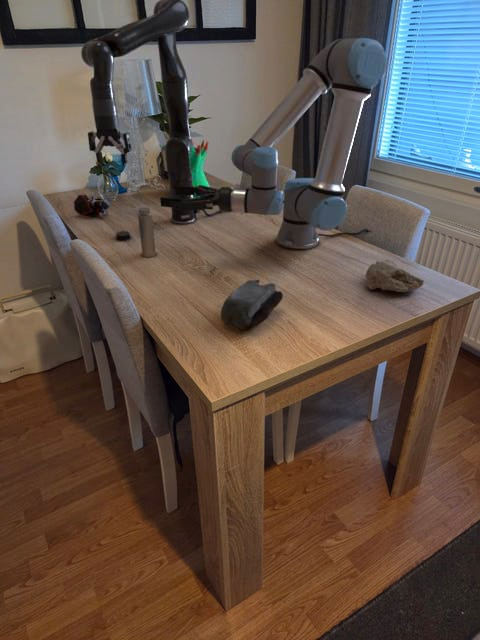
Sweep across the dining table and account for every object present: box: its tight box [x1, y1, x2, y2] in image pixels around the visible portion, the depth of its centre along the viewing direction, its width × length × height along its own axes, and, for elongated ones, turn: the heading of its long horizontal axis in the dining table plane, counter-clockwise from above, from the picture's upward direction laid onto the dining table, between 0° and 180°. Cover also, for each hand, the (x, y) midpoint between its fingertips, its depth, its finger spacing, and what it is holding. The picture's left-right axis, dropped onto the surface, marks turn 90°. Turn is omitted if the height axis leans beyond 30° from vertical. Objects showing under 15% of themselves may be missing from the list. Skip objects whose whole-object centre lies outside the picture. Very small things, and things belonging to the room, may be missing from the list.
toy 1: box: [73, 194, 111, 220], centre depth 187 cm, size 12×9×15 cm
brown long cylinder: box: [137, 206, 157, 258], centre depth 151 cm, size 4×4×16 cm
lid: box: [115, 230, 131, 242], centre depth 168 cm, size 5×5×2 cm
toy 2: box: [166, 137, 211, 198], centre depth 210 cm, size 20×20×25 cm
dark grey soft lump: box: [220, 279, 284, 332], centre depth 117 cm, size 18×11×8 cm, turn 152°
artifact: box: [365, 259, 424, 293], centre depth 134 cm, size 18×8×15 cm
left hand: (112, 164), depth 154 cm, fingers open, 8 cm apart
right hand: (168, 195), depth 142 cm, fingers open, 13 cm apart
